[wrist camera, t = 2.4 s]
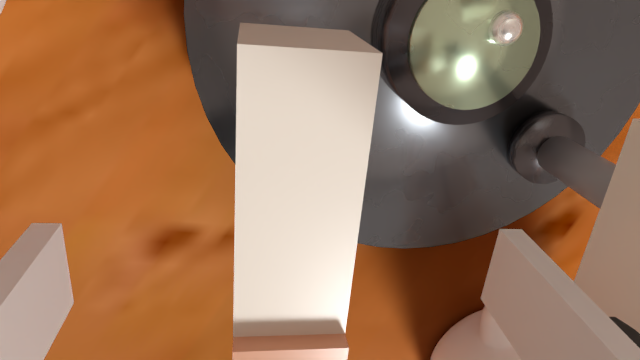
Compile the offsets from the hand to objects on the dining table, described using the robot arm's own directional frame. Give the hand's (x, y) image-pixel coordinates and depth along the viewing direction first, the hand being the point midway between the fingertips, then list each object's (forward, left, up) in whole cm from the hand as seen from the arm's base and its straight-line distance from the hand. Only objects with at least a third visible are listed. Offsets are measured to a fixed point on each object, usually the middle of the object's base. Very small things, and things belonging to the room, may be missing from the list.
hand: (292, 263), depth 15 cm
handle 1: (0, +2, -5) cm, 6 cm away
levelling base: (+6, +6, -9) cm, 12 cm away
